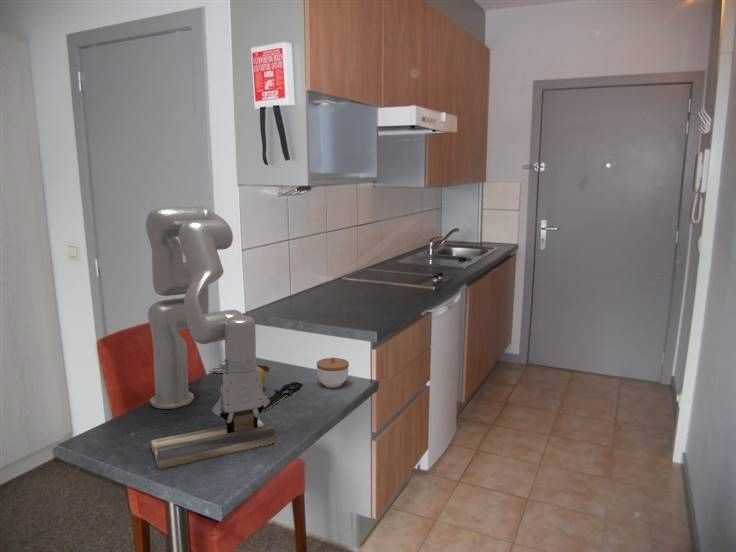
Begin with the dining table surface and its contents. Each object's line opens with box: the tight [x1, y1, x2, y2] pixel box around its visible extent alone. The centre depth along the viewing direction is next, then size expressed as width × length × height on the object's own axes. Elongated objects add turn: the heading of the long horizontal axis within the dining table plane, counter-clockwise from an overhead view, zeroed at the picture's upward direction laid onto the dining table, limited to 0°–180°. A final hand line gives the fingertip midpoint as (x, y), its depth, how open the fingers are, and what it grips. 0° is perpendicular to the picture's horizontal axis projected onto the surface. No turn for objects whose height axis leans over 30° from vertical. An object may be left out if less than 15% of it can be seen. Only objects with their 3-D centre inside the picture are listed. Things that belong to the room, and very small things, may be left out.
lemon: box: [256, 366, 266, 387], centre depth 177 cm, size 6×6×8 cm
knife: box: [263, 381, 304, 411], centre depth 171 cm, size 25×6×1 cm, turn 154°
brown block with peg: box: [232, 410, 254, 432], centre depth 142 cm, size 9×5×6 cm, turn 29°
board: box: [150, 418, 275, 470], centre depth 139 cm, size 13×28×4 cm, turn 119°
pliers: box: [208, 364, 270, 374], centre depth 192 cm, size 12×20×3 cm, turn 81°
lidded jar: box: [316, 357, 350, 389], centre depth 183 cm, size 11×11×9 cm
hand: (242, 432), depth 140 cm, fingers closed on brown block with peg, 5 cm apart
